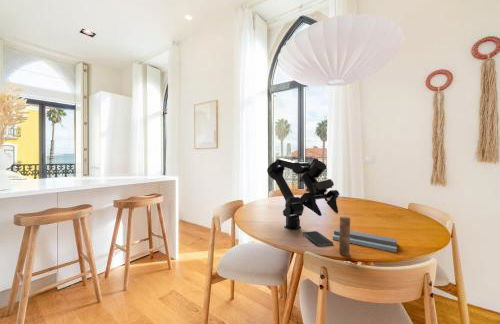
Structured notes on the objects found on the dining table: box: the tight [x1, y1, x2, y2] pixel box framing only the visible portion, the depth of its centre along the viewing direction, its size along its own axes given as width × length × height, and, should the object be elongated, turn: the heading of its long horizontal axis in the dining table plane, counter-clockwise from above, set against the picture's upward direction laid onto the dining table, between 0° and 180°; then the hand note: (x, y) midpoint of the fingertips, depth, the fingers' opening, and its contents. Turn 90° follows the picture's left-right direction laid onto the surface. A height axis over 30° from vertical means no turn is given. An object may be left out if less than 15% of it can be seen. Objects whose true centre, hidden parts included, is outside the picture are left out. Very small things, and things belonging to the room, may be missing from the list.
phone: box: [302, 230, 334, 247], centre depth 101 cm, size 8×1×15 cm
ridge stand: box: [332, 227, 398, 253], centre depth 98 cm, size 24×10×3 cm, turn 57°
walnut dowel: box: [338, 216, 351, 257], centre depth 86 cm, size 4×4×14 cm
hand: (329, 214), depth 93 cm, fingers open, 9 cm apart
